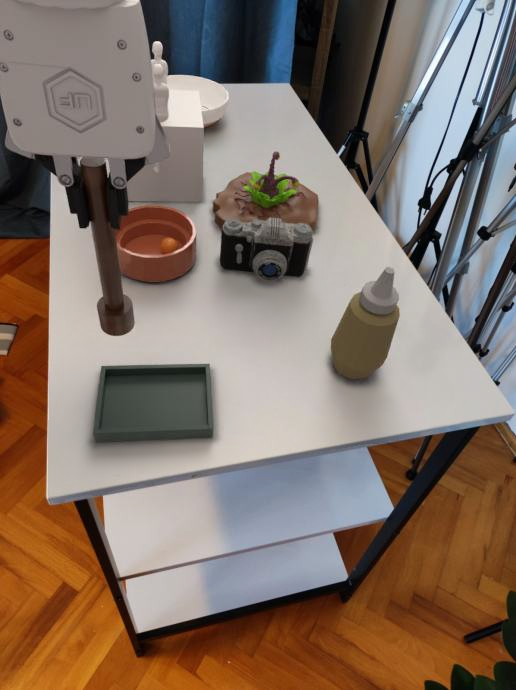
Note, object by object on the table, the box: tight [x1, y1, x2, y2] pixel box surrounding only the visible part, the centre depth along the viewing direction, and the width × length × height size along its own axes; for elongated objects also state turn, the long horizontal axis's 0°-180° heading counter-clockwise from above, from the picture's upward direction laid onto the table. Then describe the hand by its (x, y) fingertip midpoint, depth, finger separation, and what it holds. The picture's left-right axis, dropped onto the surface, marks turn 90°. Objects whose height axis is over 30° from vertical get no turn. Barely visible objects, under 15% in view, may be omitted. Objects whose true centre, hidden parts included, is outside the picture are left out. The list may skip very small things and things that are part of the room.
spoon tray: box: [92, 363, 214, 443], centre depth 63 cm, size 14×10×2 cm
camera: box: [219, 217, 314, 282], centre depth 79 cm, size 15×7×10 cm, turn 88°
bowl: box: [167, 74, 230, 128], centre depth 114 cm, size 20×20×6 cm
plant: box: [212, 150, 319, 232], centre depth 91 cm, size 20×20×11 cm
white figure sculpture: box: [127, 40, 205, 203], centre depth 88 cm, size 15×18×25 cm
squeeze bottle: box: [330, 266, 401, 381], centre depth 65 cm, size 8×8×18 cm
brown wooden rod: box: [79, 157, 136, 337], centre depth 46 cm, size 4×4×19 cm
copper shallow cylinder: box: [115, 204, 197, 283], centre depth 81 cm, size 14×14×6 cm
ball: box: [160, 238, 179, 254], centre depth 82 cm, size 3×3×3 cm
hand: (101, 218), depth 43 cm, fingers closed on brown wooden rod, 2 cm apart
